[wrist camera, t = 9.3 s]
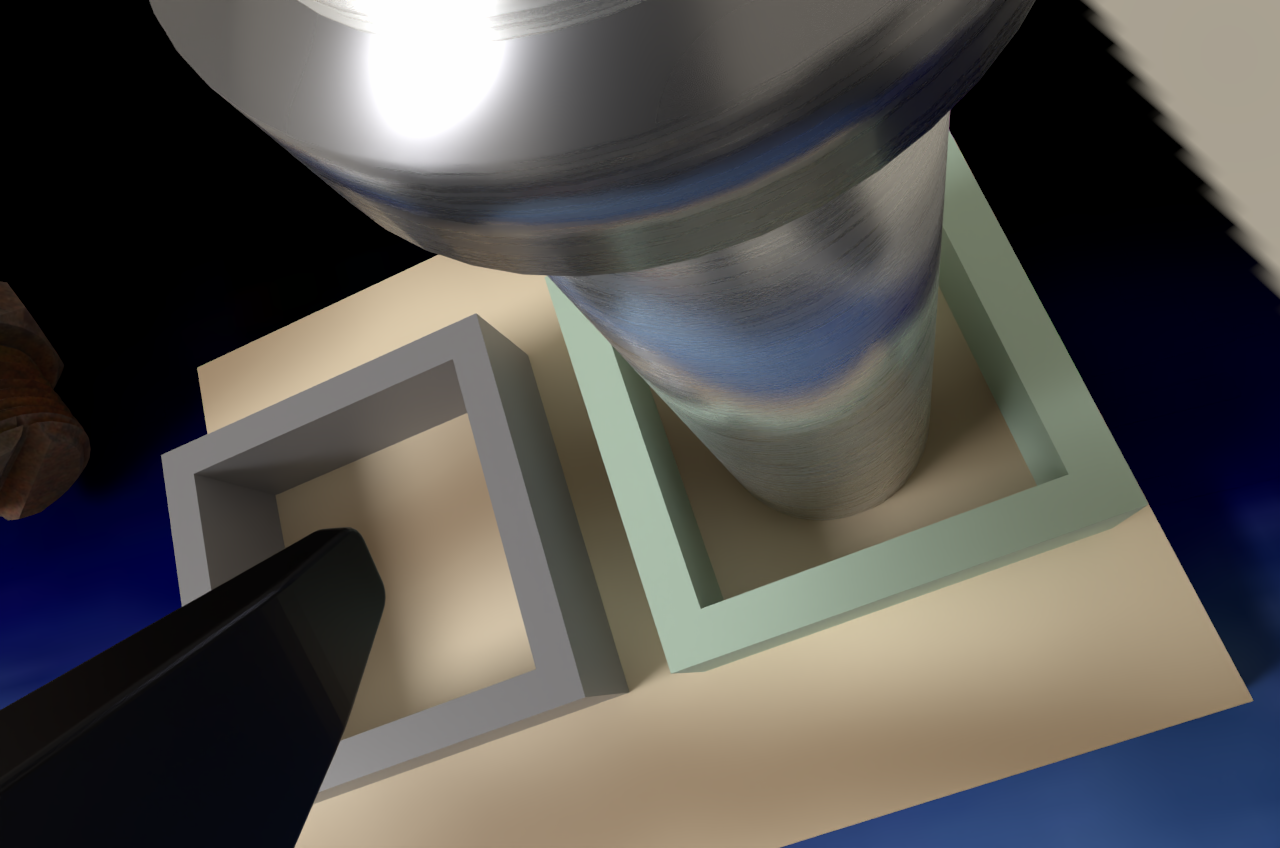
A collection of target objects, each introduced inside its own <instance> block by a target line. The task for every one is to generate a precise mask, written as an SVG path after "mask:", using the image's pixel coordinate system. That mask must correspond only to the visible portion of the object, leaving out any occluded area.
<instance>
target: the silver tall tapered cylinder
mask: <svg viewBox="0 0 1280 848" xmlns="http://www.w3.org/2000/svg"><path fill="white" fill-rule="evenodd" d="M149 1H150V3H151V6H152V9H153V11H154V14H155V15H156V17H157V19H158V20H159V22H160V24H161V25H162V27H163V28H164V30H165V32H166V33H167V35H168V37H169V38H170V40H171V41H172V43H173V45H174V46H175V48H176V49H177V51H178V52H179V54H180V55H181V56H182V57H183V58H184V59H185V60H186V61H187V62H188V63H189V64H190V66H191V67H192V68H193V69H194V70H195V71H196V72H197V73H198V74H199V75H200V76H201V78H202V79H203V80H204V81H205V82H206V83H207V84H208V85H209V86H210V87H211V88H212V89H214V90H215V91H216V92H217V93H218V94H220V95H221V96H222V97H223V98H224V99H226V100H227V101H228V102H229V103H230V104H232V105H233V106H234V107H235V108H236V109H238V110H239V111H240V112H241V113H243V114H244V115H245V116H246V117H247V118H249V119H250V120H251V121H252V122H253V123H255V124H256V125H257V126H258V127H259V128H261V129H262V130H263V131H264V132H265V133H267V134H268V135H269V136H270V137H272V138H273V139H274V140H275V141H276V142H278V143H279V144H280V145H281V146H282V147H284V148H285V149H286V150H287V151H288V152H290V153H291V154H292V155H293V156H294V157H296V158H297V159H298V160H299V161H301V162H302V163H303V164H304V165H305V166H307V167H308V168H309V169H310V170H311V171H313V172H314V173H315V174H316V175H317V176H319V177H320V178H321V179H322V180H323V181H325V182H326V183H327V184H328V185H330V186H331V187H332V188H333V189H334V190H336V191H337V192H338V193H339V194H340V195H342V196H343V197H344V198H345V199H346V200H348V201H349V202H350V203H351V204H353V205H354V206H355V207H357V208H358V209H359V210H361V211H362V212H363V213H365V214H366V215H367V216H369V217H370V218H371V219H373V220H374V221H375V222H377V223H378V224H379V225H381V226H382V227H383V228H385V229H386V230H388V231H390V232H392V233H394V234H396V235H398V236H400V237H402V238H404V239H405V240H407V241H409V242H411V243H413V244H415V245H417V246H419V247H421V248H423V249H425V250H427V251H430V252H433V253H436V254H439V255H442V256H445V257H448V258H451V259H454V260H457V261H460V262H463V263H466V264H469V265H472V266H478V267H483V268H489V269H495V270H500V271H506V272H512V273H517V274H523V275H547V276H548V277H549V278H550V279H551V280H552V281H553V283H554V284H555V285H556V286H557V287H558V288H559V289H560V290H561V291H562V292H563V293H564V294H565V295H566V297H567V298H568V299H569V300H570V301H571V302H572V303H573V304H574V305H575V306H576V307H577V308H578V309H579V310H580V312H581V313H582V314H583V315H584V316H585V317H586V318H587V319H588V320H589V321H590V322H591V323H592V324H593V325H594V327H595V328H596V329H597V330H598V331H599V332H600V333H601V334H602V335H603V336H604V337H605V338H606V339H607V341H608V342H609V343H610V344H611V345H612V346H613V347H614V348H615V349H616V350H617V351H618V352H619V353H620V354H621V356H622V357H623V358H624V359H625V360H626V361H627V362H628V363H629V364H630V365H631V366H632V367H633V368H634V370H635V371H636V372H637V373H638V374H639V375H640V376H641V377H642V378H643V379H644V380H645V381H646V382H647V383H648V385H649V386H650V387H651V388H652V389H653V390H654V391H655V392H656V393H657V394H658V395H659V396H660V397H661V399H662V400H663V401H664V402H665V403H666V404H667V405H668V406H669V407H670V408H671V409H672V410H673V411H674V412H675V414H676V415H677V416H678V417H679V418H680V419H681V420H682V421H683V422H684V423H685V424H686V425H687V426H688V427H689V429H690V430H691V431H692V432H693V433H694V434H695V435H696V436H697V437H698V438H699V439H700V440H701V441H702V443H703V444H704V445H705V446H706V447H707V448H708V449H709V450H710V451H711V452H712V453H713V454H714V455H715V456H716V458H717V459H718V460H719V461H720V462H721V463H722V464H723V465H724V466H725V467H726V468H727V469H728V470H729V472H730V473H731V474H732V475H733V476H734V477H735V478H736V479H737V480H738V481H739V482H740V483H741V484H742V485H743V487H744V488H746V489H747V490H748V491H749V492H750V493H751V494H752V495H753V496H754V497H755V498H757V499H758V500H759V501H761V502H762V503H763V504H765V505H767V506H769V507H771V508H772V509H774V510H776V511H779V512H781V513H784V514H786V515H789V516H793V517H797V518H801V519H809V520H835V519H842V518H847V517H850V516H854V515H858V514H860V513H862V512H865V511H867V510H870V509H872V508H873V507H875V506H877V505H879V504H880V503H882V502H884V501H885V500H886V499H888V498H889V497H890V496H892V495H893V494H894V493H895V492H896V491H897V490H898V489H899V488H900V487H901V486H902V485H903V484H904V483H905V482H906V481H907V479H908V478H909V477H910V475H911V474H912V473H913V471H914V470H915V468H916V466H917V464H918V462H919V461H920V459H921V456H922V454H923V451H924V448H925V445H926V441H927V437H928V432H929V421H930V406H931V391H932V376H933V361H934V346H935V331H936V316H937V301H938V286H939V271H940V256H941V241H942V226H943V211H944V196H945V181H946V166H947V151H948V136H949V121H950V110H951V109H952V108H953V107H954V105H955V104H956V103H957V102H958V101H959V100H960V99H961V98H962V97H963V96H964V95H965V94H966V93H967V92H968V91H969V90H970V89H971V88H972V87H973V86H974V85H975V84H976V83H977V82H978V81H979V80H980V79H981V77H982V76H983V75H984V73H985V72H986V71H987V69H988V68H989V67H990V66H991V64H992V63H993V62H994V60H995V59H996V58H997V56H998V55H999V54H1000V53H1001V51H1002V50H1003V49H1004V47H1005V46H1006V45H1007V43H1008V42H1009V41H1010V40H1011V38H1012V37H1013V36H1014V34H1015V33H1016V32H1017V30H1018V29H1019V27H1020V26H1021V24H1022V22H1023V21H1024V19H1025V17H1026V15H1027V14H1028V12H1029V10H1030V8H1031V7H1032V5H1033V3H1034V2H1035V0H149Z"/></svg>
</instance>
